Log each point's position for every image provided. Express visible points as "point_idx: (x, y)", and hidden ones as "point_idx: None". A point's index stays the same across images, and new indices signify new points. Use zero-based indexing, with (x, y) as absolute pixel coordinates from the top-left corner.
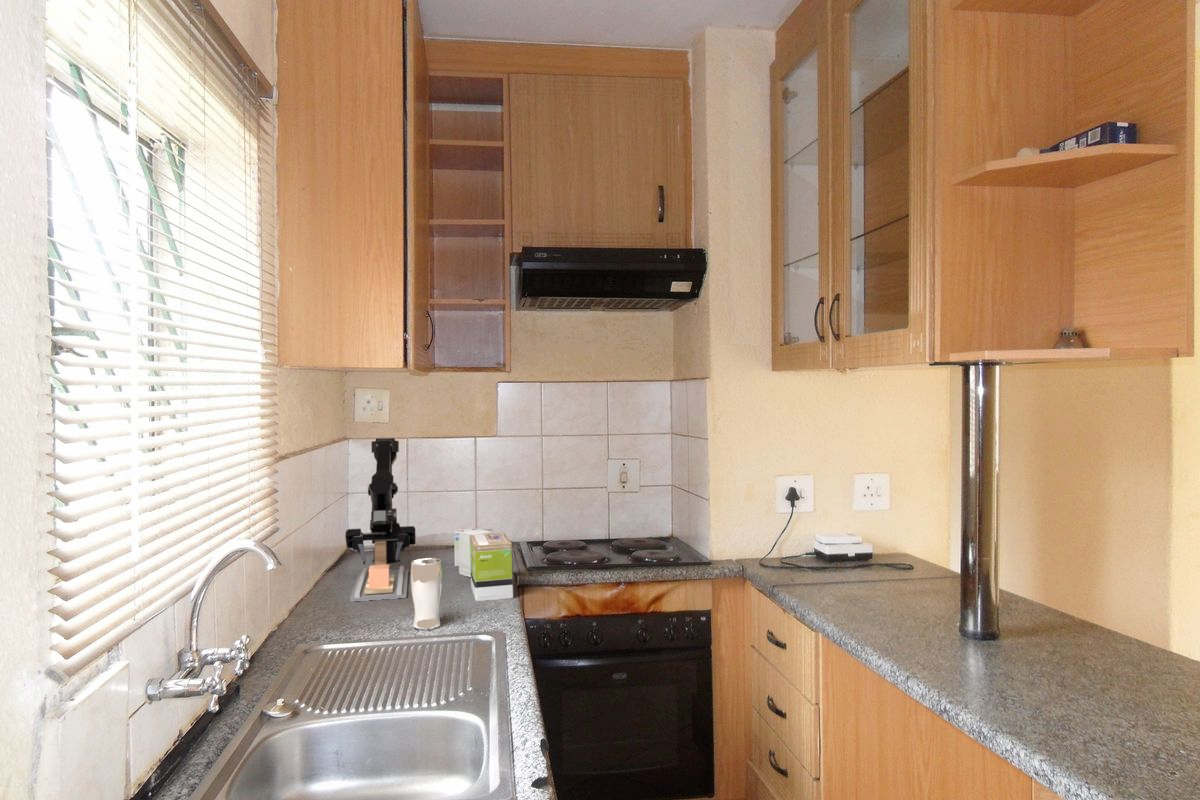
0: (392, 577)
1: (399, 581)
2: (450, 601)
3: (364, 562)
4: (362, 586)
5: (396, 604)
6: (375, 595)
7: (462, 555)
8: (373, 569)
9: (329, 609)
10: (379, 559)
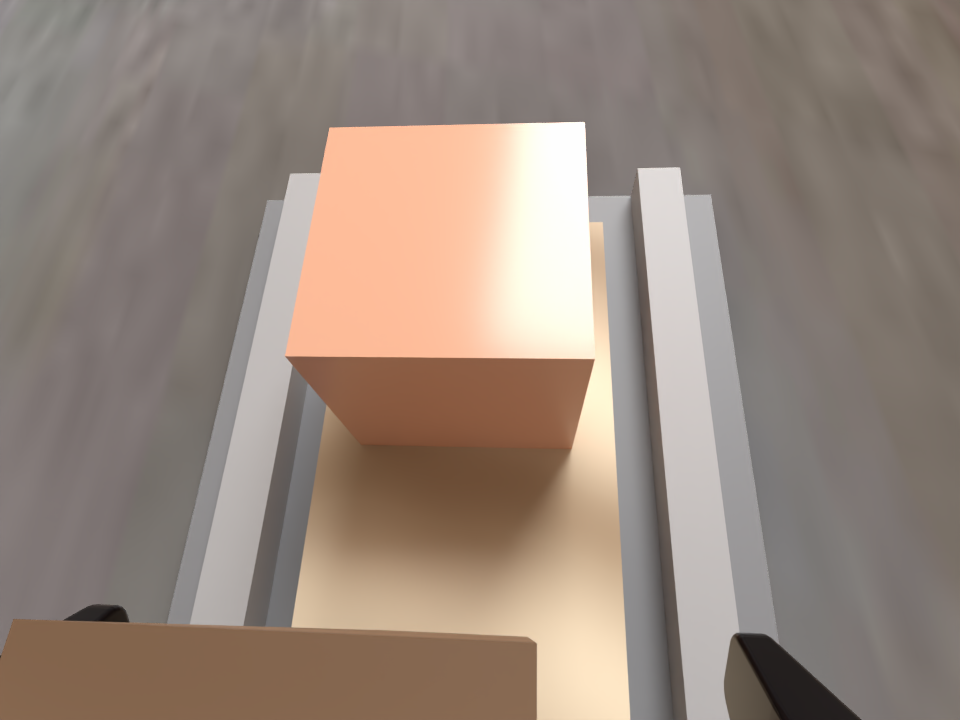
0: None
1: (248, 501)
2: (37, 101)
3: (742, 636)
4: (662, 526)
5: (365, 107)
6: None
7: None
8: (522, 125)
9: (809, 90)
10: (426, 633)
